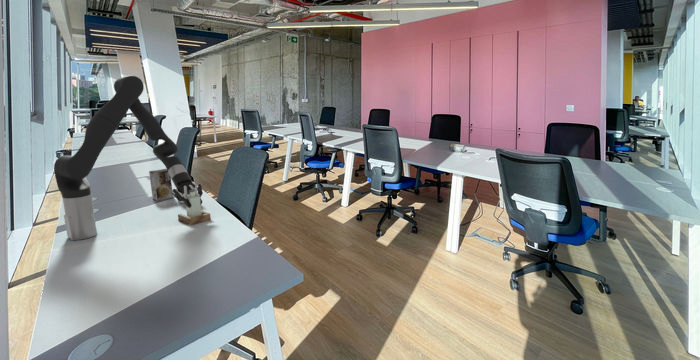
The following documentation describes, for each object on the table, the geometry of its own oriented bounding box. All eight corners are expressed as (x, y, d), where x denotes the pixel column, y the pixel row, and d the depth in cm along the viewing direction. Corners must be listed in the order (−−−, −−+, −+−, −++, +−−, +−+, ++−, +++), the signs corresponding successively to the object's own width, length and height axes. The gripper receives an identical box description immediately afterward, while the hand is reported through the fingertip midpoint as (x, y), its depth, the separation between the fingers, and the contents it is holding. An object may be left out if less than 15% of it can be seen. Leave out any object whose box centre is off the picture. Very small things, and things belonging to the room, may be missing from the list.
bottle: (192, 218, 165) (189, 191, 162) (187, 216, 168) (184, 190, 165) (201, 215, 168) (199, 189, 166) (196, 213, 171) (194, 188, 168)
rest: (190, 225, 162) (189, 219, 161) (178, 220, 168) (177, 214, 167) (210, 219, 169) (210, 213, 169) (198, 215, 176) (198, 209, 175)
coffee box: (168, 195, 211) (165, 168, 208) (173, 197, 208) (170, 169, 204) (152, 198, 205) (148, 170, 201) (157, 200, 201) (153, 172, 197)
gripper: (166, 173, 163) (182, 204, 158) (196, 169, 174) (212, 197, 169) (162, 183, 167) (178, 213, 162) (191, 178, 178) (207, 206, 173)
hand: (195, 205), depth 166 cm, fingers closed on bottle, 4 cm apart
